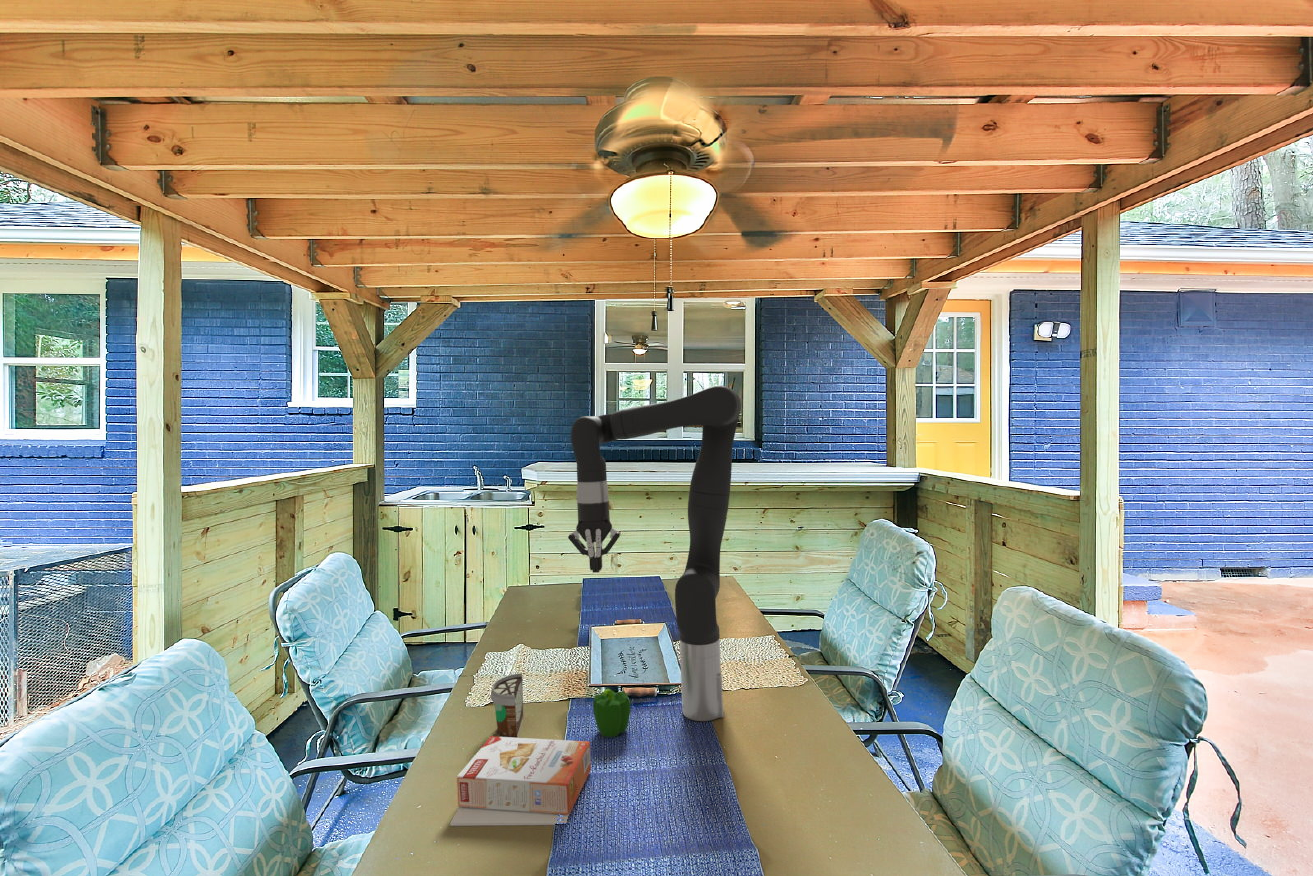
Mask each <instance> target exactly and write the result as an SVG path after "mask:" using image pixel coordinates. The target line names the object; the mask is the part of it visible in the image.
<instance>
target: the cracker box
mask: <svg viewBox="0 0 1313 876" xmlns="http://www.w3.org/2000/svg"><path fill="white" fill-rule="evenodd" d="M591 757H592V756H591V741H585V740H569V739H568V740H567V739H566V740H564V739H550V738H549V739H548V738H533V737H532V738H530V737H518V738H513V737H502V736H493V735H491V736H490V737H489V738H488V739H487V740H486V742H485V743H484V744H483V746H481V748H480V749H479V750H478V751H477V753H475V754H474V756H473V757H472V758H471V759H470V761H469V762H467V764H466V765H465V766H464V767H463V769H462V770H461V771H460V772H459V774H457V776H456V787H457V788H456V789H457V806H458V808H459V807H471V808H484V809H499V810H513V811H526V812H541V813H555V814H569V815H570V814H571V812H572V810H573V808H574V805H575V803H576V801H577V799H578V798H579V795H580V794H581V793H580V792H581V791H582V789H583V787H584V784H585V783H586V781H587V778H588V776H589V775H590V773H591V770H592V762H591V759H592V758H591Z"/></svg>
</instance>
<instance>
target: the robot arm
mask: <svg viewBox="0 0 1313 876" xmlns="http://www.w3.org/2000/svg"><path fill="white" fill-rule="evenodd" d="M741 410H742V403H741V399H740V397H739V395H738V393H737V392H736V391H735V390H734V389H732V388H730V387H728V386H725V385H720V384H717V385H715V384H714V385H710V386H709V387H707V388H705V389H702V390H699V391H698V392H695V393H692V394H690V395H687V396H684V397H681V398H675V399H673V400H669V401H663V402H658V403H657V402H655V403H651V404H644V405H640V406H634V407H629V408H624V409H619V410H616V411H614V412H612V413H606V414H600V415H593V416H590V415H589V416H586V415H585V416H580V417H578V418H577V419H575V420H574V422H573V424H572V425H571V429H570V439H571V445H572V446H571V447H572V450H573V455H574V459H575V462H576V476H577V477H576V479H577V480H576V481H577V484H576V502H577V503H576V505H577V507H576V508H577V524H576V527H575V530H574V531H573V532H571V533H570V534H568V537H567V538H568V540H569V541H570V542H571V543H572V545H573V546H574V547H575V548H576V549H577V550H578V552H579V553H580V554H581V555H582V556H587V557H588V558H589V559H588V561H589V569H590V571H592V574H593V573H597V574H598V573H600V571H601V570H602V569H603V556H604V555H607V554H608V553H609V552H610V551H611V549H612V548H613V547H614V545H615V544H616V542H617V541H618V540H619V538H620V537H621V531H619V530H616V529H615V528H613V524H612V522H611V519H610V518H611V517H610V500H609V499H610V498H609V496H610V495H609V487H608V480H607V463H606V459H605V458H604V457H603V456H602V454H601V448H600V445H602V444H607V443H612V442H614V441H618V440H629V439H635V438H639V437H646V436H649V435H653V434H658V433H660V432H665V431H668V430H671V429H677V428H682V427H691V426H702V437H701V444H700V447H699V453H698V456H697V459H696V461H695V464H694V468H693V472H692V476H691V479H690V485H689V490H688V491H689V493H688V502H687V521H688V522H687V523H688V531H689V547H688V548H689V550H688V556H687V560H686V565H685V569H684V572H683V574H682V575H681V576H680V577H679V579H677V582H676V584H675V588H674V604H675V605H674V607H675V620H676V628H677V630H678V634H679V657H680V658H679V659H680V660H679V661H680V678H681V679H680V681H681V683H680V684H681V706H682V710H681V711H682V715H684V717H686V718H687V719H689V720H692V721H694V722H695V721H696V722H709V721H714V720H716V719H719V718H721V719H722V718H724V699H723V698H724V697H723V677H722V676H723V675H722V667H721V666H722V663H721V642H720V627H719V625H718V622H717V609H716V606H717V605H716V601H717V600H716V598H717V596H718V594H719V591H720V587H721V585H720V583H721V582H720V581H721V578H720V577H721V574H720V573H721V572H720V570H721V568H720V567H721V547H722V542H723V537H724V533H725V529H726V528H725V527H726V524H727V516H728V511H729V505H730V493H731V486H732V485H731V484H732V483H731V482H732V470H733V466H732V464H733V463H732V462H733V459H732V458H733V445H734V441H735V435H736V430H737V425H738V422H739V419H740V414H741ZM609 534H610V535H609ZM608 535H609V538H610V540H609V542H607V544H606V546H605V547H603V545H604V544H603V543H604V541H605V540H606V538H607V536H608ZM580 536H581V537H580ZM580 538H582V540H584V542H586V545H585V544H584V543H583V542H582V541H581V540H580ZM586 546H587V547H586Z"/></svg>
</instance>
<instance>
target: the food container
mask: <svg viewBox="0 0 1313 876" xmlns="http://www.w3.org/2000/svg"><path fill="white" fill-rule="evenodd" d="M523 681H524V679H523V673H522V672H521V673H514V674H513V673H512V674H509V675H507V676H504V677H502V678H500V679H498V680H497V681H495V682H494V684H493V685H492V687H491V691H490V700H491V702H493V703H494V711H495V719H496V720H495V721H496V728H497V733H498V735H499V737H513V738H519V734H520V730H521V728H522V724H523V721H524V694H523V693H524V691H523Z"/></svg>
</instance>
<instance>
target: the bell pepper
mask: <svg viewBox="0 0 1313 876" xmlns="http://www.w3.org/2000/svg"><path fill="white" fill-rule="evenodd" d="M631 705H632V703H631V700H630V698H629V696H628V694H627V693H626V691H624V690H621V691H618V692H615V691H614V690H612V689H610V688H607V689H605V690H604V691H602V692H601V693H600V694H595V695H594V697H593V703H592V708H593V716H594V720H595V722H596V727H597V730H598V732H599V733H600V735H601V736H603V737H604V738H607V737H613V738H615V737H618V736H619V734H622V733H624V732H626V731H627V728H628V724H629V722H630V721H629V720H630V715H631V711H632V710H631V709H632V708H631Z"/></svg>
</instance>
